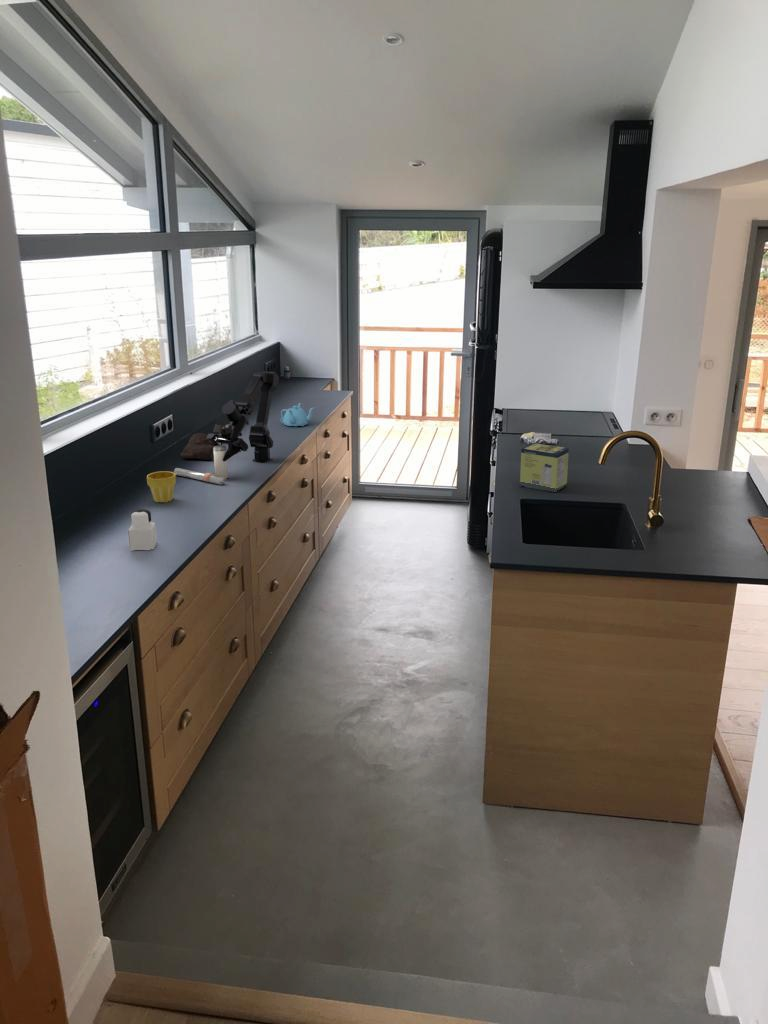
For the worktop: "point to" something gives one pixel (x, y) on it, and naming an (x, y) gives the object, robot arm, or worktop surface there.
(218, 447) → the white grey cylinder
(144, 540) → the medicine bottle
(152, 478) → the plant pot
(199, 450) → the dark brown lump
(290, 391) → the worktop surface
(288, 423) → the teapot
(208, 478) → the grey steel rod
